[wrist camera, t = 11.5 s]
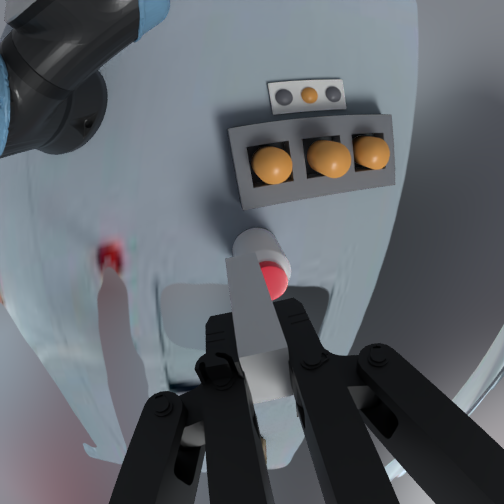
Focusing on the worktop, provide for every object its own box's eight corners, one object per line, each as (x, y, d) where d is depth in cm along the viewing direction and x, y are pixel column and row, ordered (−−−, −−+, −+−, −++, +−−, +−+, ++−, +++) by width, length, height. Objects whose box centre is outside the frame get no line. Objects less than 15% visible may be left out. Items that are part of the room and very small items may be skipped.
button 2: (253, 181, 41) (258, 187, 37) (248, 148, 39) (252, 151, 35) (286, 175, 41) (294, 181, 37) (281, 143, 39) (289, 145, 35)
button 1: (350, 166, 42) (364, 171, 38) (347, 136, 39) (361, 138, 35) (375, 163, 42) (390, 168, 38) (373, 134, 40) (388, 136, 36)
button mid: (308, 174, 40) (319, 180, 36) (304, 141, 37) (315, 143, 33) (338, 170, 40) (352, 175, 36) (335, 138, 38) (349, 140, 34)
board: (241, 205, 43) (243, 210, 40) (226, 128, 37) (228, 128, 35) (385, 180, 44) (395, 184, 42) (381, 114, 39) (391, 114, 36)
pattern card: (272, 114, 37) (273, 114, 37) (267, 83, 35) (268, 83, 35) (345, 109, 38) (347, 109, 37) (341, 79, 36) (342, 79, 35)
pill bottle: (262, 276, 49) (275, 315, 39) (223, 258, 46) (227, 295, 37) (287, 240, 47) (307, 273, 37) (247, 219, 44) (259, 248, 34)
